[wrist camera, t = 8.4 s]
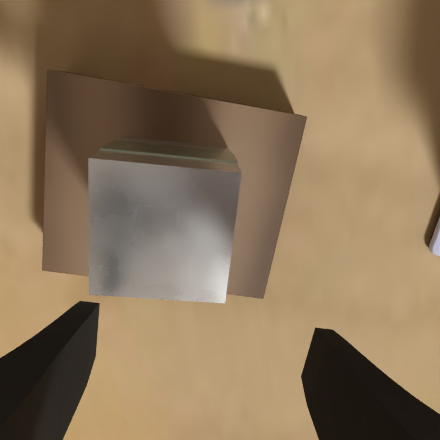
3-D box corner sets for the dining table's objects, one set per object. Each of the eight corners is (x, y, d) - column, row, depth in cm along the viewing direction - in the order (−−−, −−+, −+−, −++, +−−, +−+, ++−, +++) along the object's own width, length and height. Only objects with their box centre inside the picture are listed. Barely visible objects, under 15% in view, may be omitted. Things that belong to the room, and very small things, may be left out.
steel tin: (229, 146, 18) (243, 171, 13) (217, 242, 20) (226, 304, 14) (121, 134, 18) (86, 156, 12) (119, 235, 19) (87, 295, 14)
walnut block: (292, 113, 21) (307, 116, 18) (255, 273, 24) (263, 298, 21) (69, 72, 19) (47, 69, 17) (61, 247, 23) (42, 270, 20)
